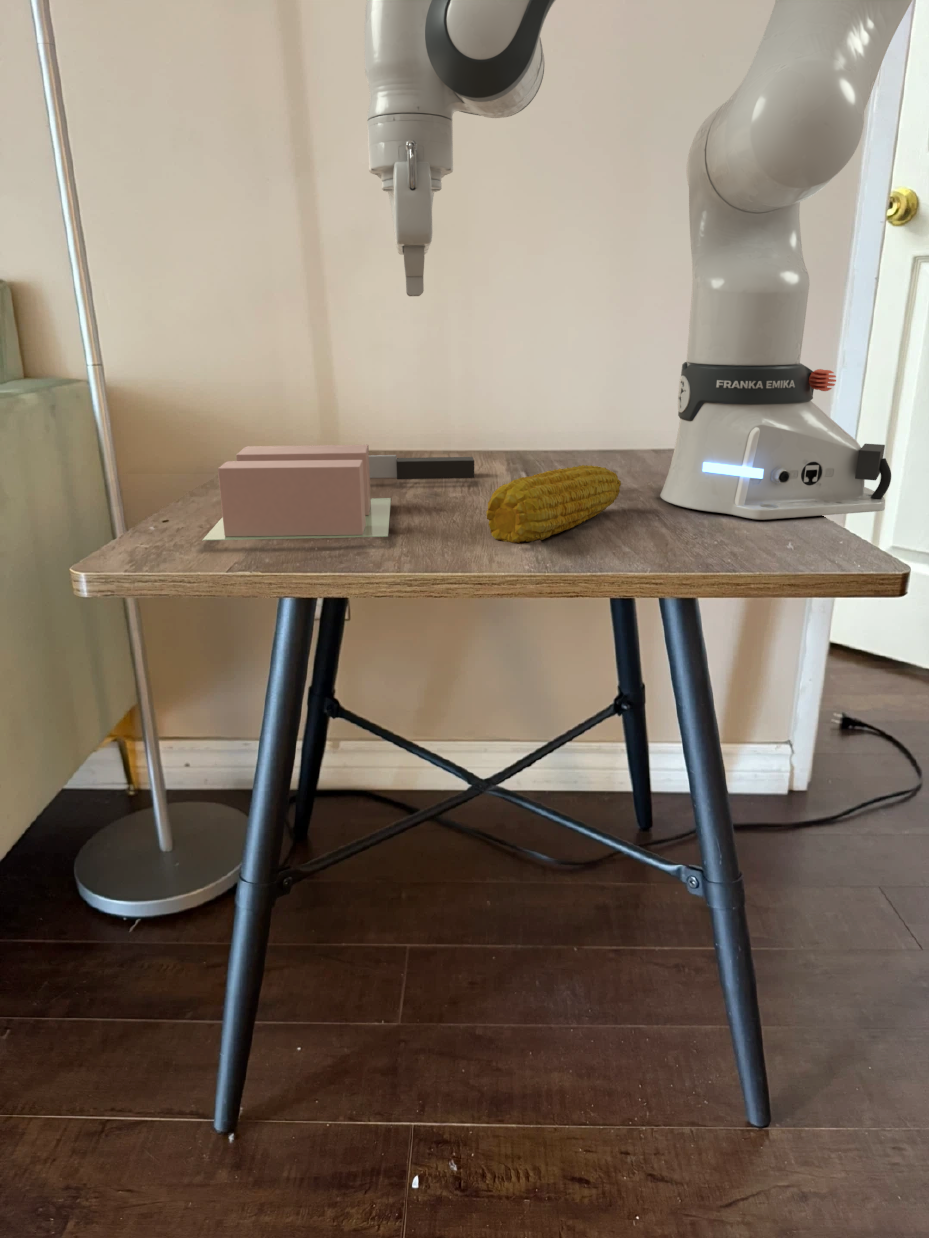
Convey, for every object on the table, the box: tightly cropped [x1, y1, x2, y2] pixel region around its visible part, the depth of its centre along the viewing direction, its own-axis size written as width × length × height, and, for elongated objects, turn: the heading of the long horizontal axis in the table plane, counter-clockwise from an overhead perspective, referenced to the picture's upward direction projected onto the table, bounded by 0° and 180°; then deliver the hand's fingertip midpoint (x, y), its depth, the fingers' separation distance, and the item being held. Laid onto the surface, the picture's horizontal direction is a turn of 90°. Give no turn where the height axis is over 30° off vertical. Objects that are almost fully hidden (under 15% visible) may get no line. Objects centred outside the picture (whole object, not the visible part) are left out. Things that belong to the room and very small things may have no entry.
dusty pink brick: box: [217, 460, 366, 537], centre depth 75 cm, size 12×4×6 cm, turn 92°
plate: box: [202, 497, 392, 541], centre depth 82 cm, size 16×16×1 cm
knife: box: [369, 454, 475, 480], centre depth 100 cm, size 23×3×4 cm, turn 94°
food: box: [485, 464, 622, 544], centre depth 80 cm, size 21×6×6 cm, turn 148°
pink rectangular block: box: [235, 444, 372, 515], centre depth 83 cm, size 12×5×6 cm, turn 94°
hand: (414, 296), depth 94 cm, fingers open, 8 cm apart
